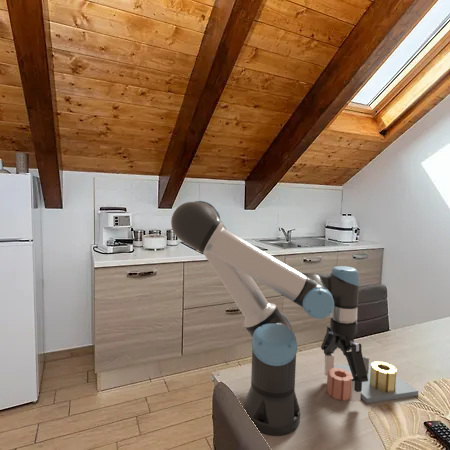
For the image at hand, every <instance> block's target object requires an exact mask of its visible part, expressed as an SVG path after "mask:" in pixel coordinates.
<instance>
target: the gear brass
mask: <svg viewBox="0 0 450 450" xmlns="http://www.w3.org/2000/svg"><path fill="white" fill-rule="evenodd" d="M375 361H376V362H373V361H372V362H373V363H372V364H371V372H370V385H371V386H372V387H373V388H374V389H377V390H378V391H381V392H387V393H391V392H394V391H395V387H396V375H397V371H398V368H396V366H394V365H393V364H389V363H388V362H385V361H378V360H375ZM382 369H385V370H382Z"/></svg>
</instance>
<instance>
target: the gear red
mask: <svg viewBox="0 0 450 450" xmlns="http://www.w3.org/2000/svg"><path fill="white" fill-rule="evenodd" d="M351 378H353V376H352V374H351V373H350V372H349V371H346V370H345V369H341V368H339V369H338V368H331V369H329V371H328V376H327V378H326V379H327V381H326V393H327V394H328V395H329V397H332V398H333V399H336V400H338V401H341V400H342V401H348V400H350V396H351Z"/></svg>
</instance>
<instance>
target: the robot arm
mask: <svg viewBox="0 0 450 450" xmlns="http://www.w3.org/2000/svg"><path fill="white" fill-rule="evenodd" d="M220 216H221V215H220V214H219V211H218V209H217V208H216V207H215V206H214V205H212V204H211V203H210V202H206V201H203V200H197V201H196V200H195V201H188V202H187V201H186V202H183V203H181V205H178V206H177V208H176V209H175V210H174V211H173V213H172V215H171V221H170V222H171V223H170V224H171V229H172V231H173V233H174V235H175V237H176V238H178V240H180V241H182V242H183V243H184V244H186V245H188V246H189V247H192V248H194V250H195V252H197V253H198V252H199V253H201V254H203V255H204V256H205V258H206V260H207V261H208V263H209V264H210V266H211V267H212V269H213V271H214V272H215V273H216V275H217V277H218V278H219V280H220V281H221V282H222V284H223V286H224V287H225V289H226V291H227V292H228V294H229V295H230V296H231V297H230V298H232V300H233V302H234V303H235V305H236V306H237V308H238V309H239V310H240V312H241V314H242V315H243V317H244V322H243V326H244V328H245V330H247V332H248V333H249V336H250V337H251V347H252V349H251V376H250V379H251V380H250V387H249V390H248V392H247V395H246V397H245V400H244V404H243V410H244V409H245V410H246V412H247V414H248V415H249V417H250V418H251V420H252V421H253V422H254V424H255V425H256V427H257V428H258V430H259V431H260V433H262V434H266V435H269V436H270V435H271V436H283V435H284V436H285V435H289V434H291V433H292V432H294V431H296V429H297V428H298V427H299V425H300V424H301V423H300V422H301V408H300V405H299V402H298V398H297V394H296V392H295V391H296V390H295V389H296V388H295V386H296V365H297V351H298V341H297V336H296V334H295V332H293V328H292V325H291V322H290V321H289V319H288V317H286V315H284V314H283V313H282V312H281V311H280V310H279V308H278V306H277V305H276V304H275V303H271V302H269V301H268V300H267V298H266V297H265V295H264V294H263V292H262V291H261V289H260V288H259V286H258V285H257V283H256V282H255V281H257V282H259V283H261V284H262V285H264V286H266V287H268V288H269V289H271V290H273V291H274V292H276V293H278V294H279V295H281V296H282V297H285V298H286V299H288V300H290V301H291V302H293V303H294V304H295V305H298V306H299V307H302V308H303V310H304V311H305V312H306V313H307V315H308V316H310V317H311V318H313V319H317V320H322V319H325V318H327V317H329V316H330V323H329V324H330V325H329V326H327V327H326V332H325V335H324V338H323V341H322V343H321V345H320V350H322V351H323V354H324V376H325V377H326V376H328V371H329V369H331V368H334V366H335V355H334V353H335V351H336V350H337V349H339V350H340V351H341V352H342V354H343V356H345V358H346V361H347V363H348V364H349V367H350V370H351V373H352V376H353V378H351V396H350V398H349V400H350V402H352V403H354V402H359V401H360V402H361V399H362V398H361V391H362V382H365V381H368V377H367V373H366V368H365V364H364V360H363V357H364V356H363V352H362V349H363V348H362V344H361V343H360V342H358V343H357V342H355V339H354V337H355V335H356V334H357V333H358V308H359V307H358V305H359V289H360V288H359V287H360V275H359V273H360V272H359V271H358V270H357V269H356V268H355V267H352V266H345V265H340V266H337V265H336V266H334V267H332V269H331V272H330V273H321V272H320V273H318V272H317V273H316V272H304V271H302V272H300V271H298V270H296V269H295V268H293V267H291V266H290V265H288V264H286V263H284V262H282V261H281V260H279V259H277V258H276V257H274V256H272V255H270V254H269V253H267V252H266V251H264V250H262V249H260V248H258V247H257V246H255V245H253V244H252V243H250V242H248V241H246V240H245V239H243V238H241V237H240V236H238V235H236V234H234V233H233V232H231V231H230V230H228V229H227V228H226V226H225V225H224V223H223V222H222V220H221V217H220ZM356 375H357V376H356ZM259 431H258V432H259Z"/></svg>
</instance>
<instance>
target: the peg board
mask: <svg viewBox="0 0 450 450" xmlns="http://www.w3.org/2000/svg"><path fill="white" fill-rule="evenodd" d="M363 360H364V364H365V368H366V373H367V377H368V381H365V382H362V391H361V398H360V399H362V401H364V403H366V404H370V403H371V404H372V403H378V402H385V401H390V400H397V399H405V398H412V397H417V395H418V396H419V390H418V389H416V388H415V387H414V386H413V385H411V384H409V382H407V381H406V380H404V378H403V379H402V378H401V377H400V376H399V375H397V374H396V387H395V391H394V392H391V393H387V392H381V391H378V390H377V389H374V388H373V387H372V386H371V385H370V372H371V364H372V363H373V362H376V361H377V360H375V361H370V357H369V356H366V355H364V356H363ZM334 368H338V369H339V368H341V369H345V370H346V371H349V372H350V373H351V370H350V367H349V364H339V365H334ZM382 370H385V369H382ZM351 374H352V373H351ZM356 376H357V375H356Z"/></svg>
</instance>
